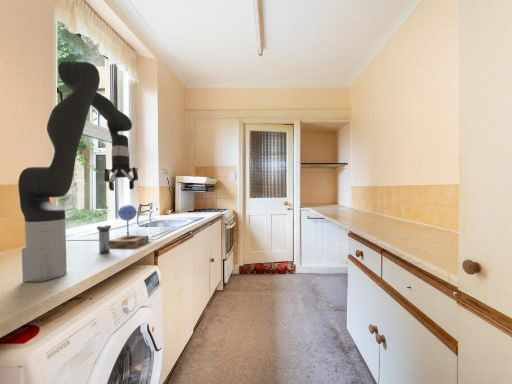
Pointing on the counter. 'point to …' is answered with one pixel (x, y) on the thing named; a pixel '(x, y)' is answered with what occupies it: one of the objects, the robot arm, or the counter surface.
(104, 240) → the pin
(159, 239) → the counter surface
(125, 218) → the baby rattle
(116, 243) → the hole block
